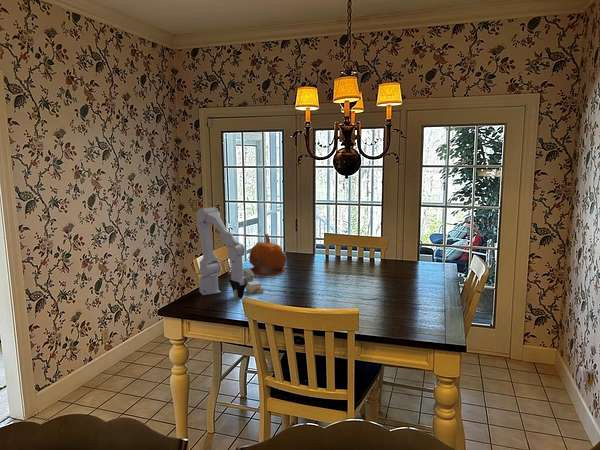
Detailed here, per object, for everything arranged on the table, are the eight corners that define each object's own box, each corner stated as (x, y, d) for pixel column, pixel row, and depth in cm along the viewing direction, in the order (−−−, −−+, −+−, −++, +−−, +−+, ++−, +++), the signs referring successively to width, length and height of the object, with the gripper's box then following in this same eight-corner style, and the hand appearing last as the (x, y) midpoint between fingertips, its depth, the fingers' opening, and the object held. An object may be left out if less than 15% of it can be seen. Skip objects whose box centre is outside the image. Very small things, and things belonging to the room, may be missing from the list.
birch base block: (250, 295, 226) (250, 290, 225) (246, 291, 232) (245, 286, 232) (263, 293, 229) (263, 288, 228) (258, 289, 235) (258, 284, 235)
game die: (251, 288, 247) (261, 274, 248) (245, 287, 239) (256, 272, 240) (239, 279, 250) (249, 265, 251) (233, 278, 242) (243, 263, 243)
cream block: (250, 289, 227) (250, 284, 226) (247, 286, 232) (247, 282, 231) (260, 288, 229) (260, 283, 228) (257, 285, 234) (257, 280, 233)
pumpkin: (267, 263, 288) (266, 229, 285) (295, 270, 271) (294, 233, 268) (240, 270, 272) (239, 234, 269) (268, 278, 255) (267, 239, 252)
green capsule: (235, 300, 217) (234, 292, 216) (232, 297, 221) (232, 290, 220) (243, 299, 219) (243, 291, 218) (241, 296, 222) (240, 288, 222)
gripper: (249, 271, 212) (250, 298, 215) (240, 264, 225) (241, 290, 227) (235, 273, 209) (236, 300, 212) (226, 266, 222) (227, 292, 224)
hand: (238, 295), depth 219 cm, fingers open, 7 cm apart
